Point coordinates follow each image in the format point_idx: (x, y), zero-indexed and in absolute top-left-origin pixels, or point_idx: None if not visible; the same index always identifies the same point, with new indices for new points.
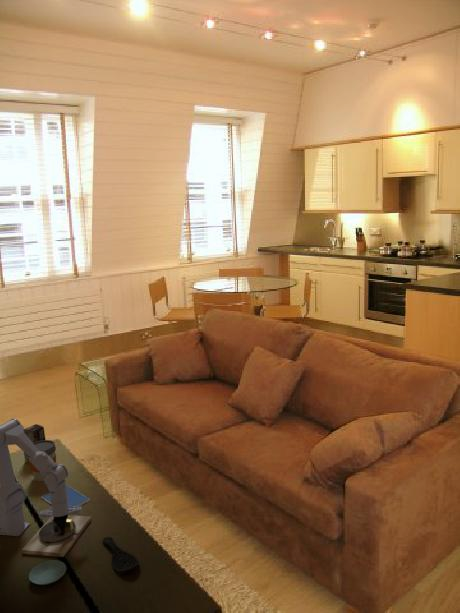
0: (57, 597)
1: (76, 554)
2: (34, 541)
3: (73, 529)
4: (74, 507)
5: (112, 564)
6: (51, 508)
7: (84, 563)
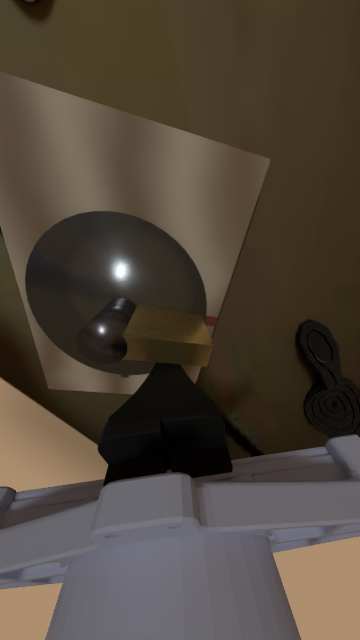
0: None
1: (221, 379)
2: (61, 355)
3: (202, 317)
4: (335, 513)
5: (307, 408)
6: (16, 569)
7: (244, 402)
